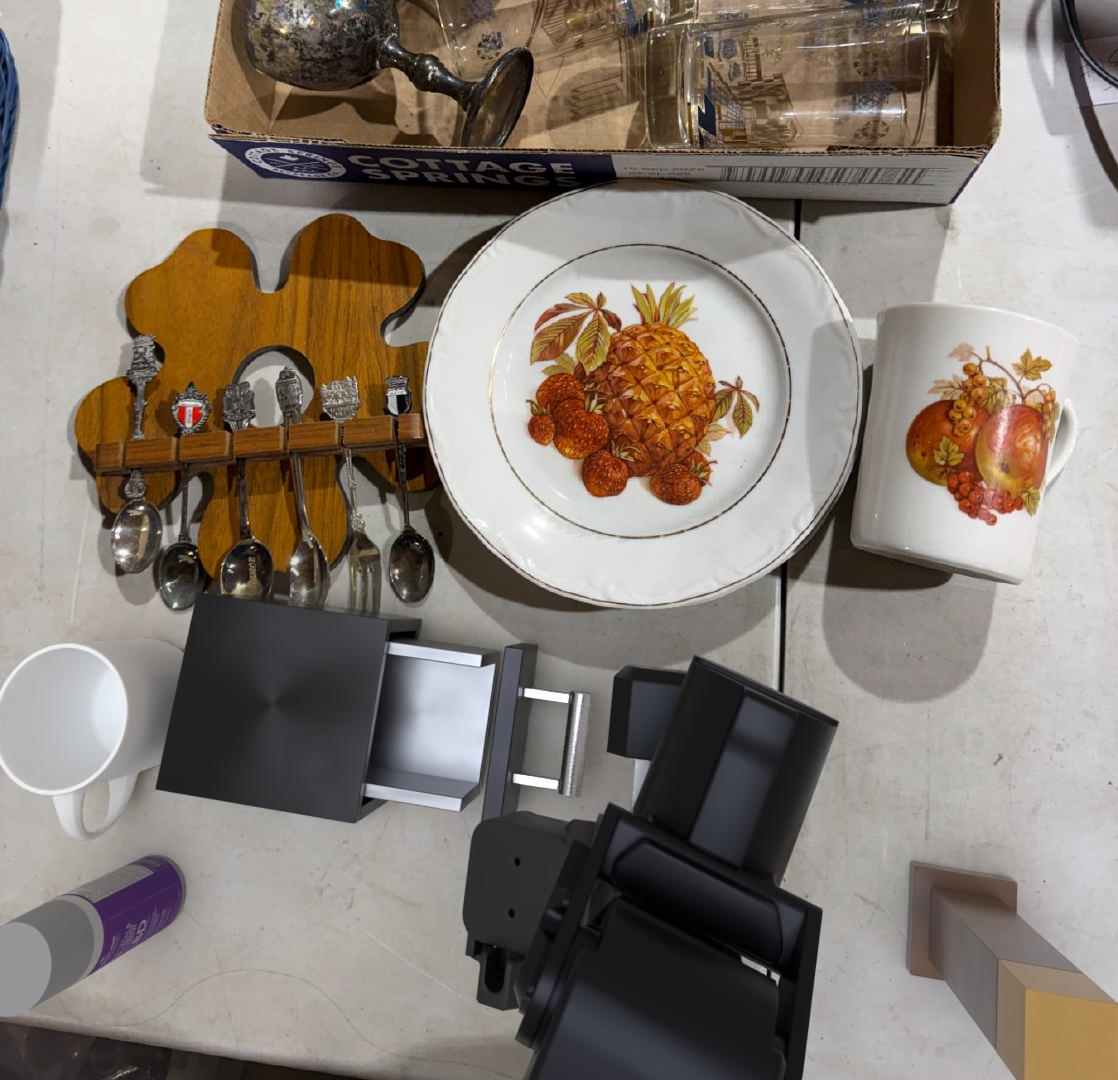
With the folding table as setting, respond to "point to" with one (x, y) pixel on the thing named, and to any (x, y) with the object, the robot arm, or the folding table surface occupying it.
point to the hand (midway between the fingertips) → (665, 846)
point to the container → (85, 930)
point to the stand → (971, 936)
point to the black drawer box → (279, 704)
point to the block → (1055, 1024)
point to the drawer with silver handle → (464, 727)
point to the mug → (87, 721)
